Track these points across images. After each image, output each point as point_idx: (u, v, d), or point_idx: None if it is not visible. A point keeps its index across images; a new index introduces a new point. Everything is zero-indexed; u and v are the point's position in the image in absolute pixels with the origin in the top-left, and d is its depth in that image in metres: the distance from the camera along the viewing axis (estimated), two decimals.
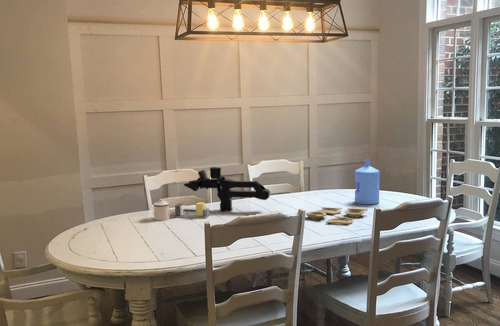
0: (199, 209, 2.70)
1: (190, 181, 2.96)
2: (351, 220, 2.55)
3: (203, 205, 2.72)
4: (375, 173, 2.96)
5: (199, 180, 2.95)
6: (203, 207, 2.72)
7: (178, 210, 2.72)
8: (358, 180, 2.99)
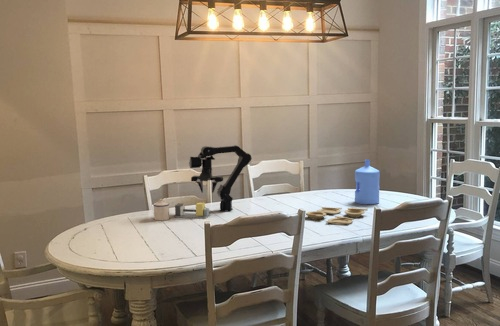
0: (199, 209, 2.70)
1: (202, 190, 2.83)
2: (351, 220, 2.55)
3: (203, 205, 2.72)
4: (375, 173, 2.96)
5: (200, 181, 2.82)
6: (203, 207, 2.72)
7: (178, 210, 2.72)
8: (358, 180, 2.99)
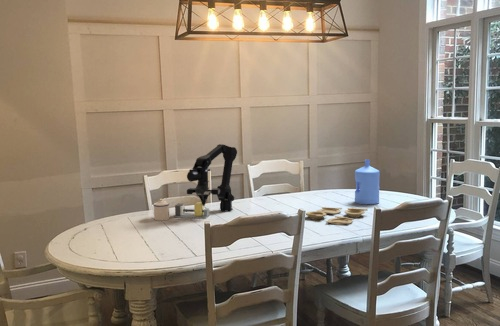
0: (197, 209, 2.71)
1: None
2: (351, 220, 2.55)
3: (201, 205, 2.72)
4: (375, 173, 2.96)
5: (201, 194, 2.70)
6: (201, 207, 2.72)
7: (178, 210, 2.72)
8: (358, 180, 2.99)
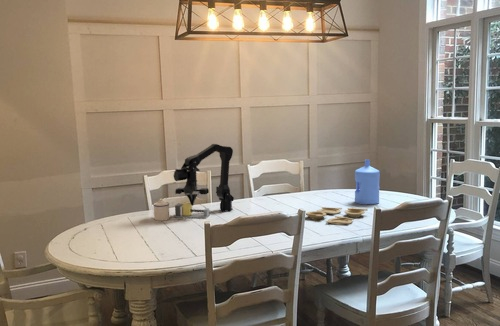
0: (186, 209, 2.72)
1: None
2: (351, 220, 2.55)
3: (190, 205, 2.73)
4: (375, 173, 2.96)
5: (190, 194, 2.72)
6: (190, 207, 2.73)
7: (178, 210, 2.72)
8: (358, 180, 2.99)
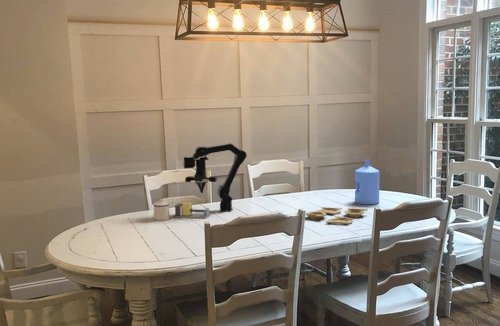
0: (186, 209, 2.72)
1: None
2: (351, 220, 2.55)
3: (190, 205, 2.73)
4: (375, 173, 2.96)
5: (199, 182, 2.82)
6: (190, 207, 2.73)
7: (178, 210, 2.72)
8: (358, 180, 2.99)
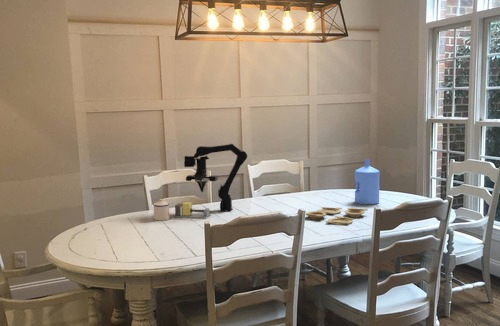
0: (186, 209, 2.72)
1: None
2: (351, 220, 2.55)
3: (190, 205, 2.73)
4: (375, 173, 2.96)
5: (200, 181, 2.84)
6: (190, 207, 2.73)
7: (178, 210, 2.72)
8: (358, 180, 2.99)
